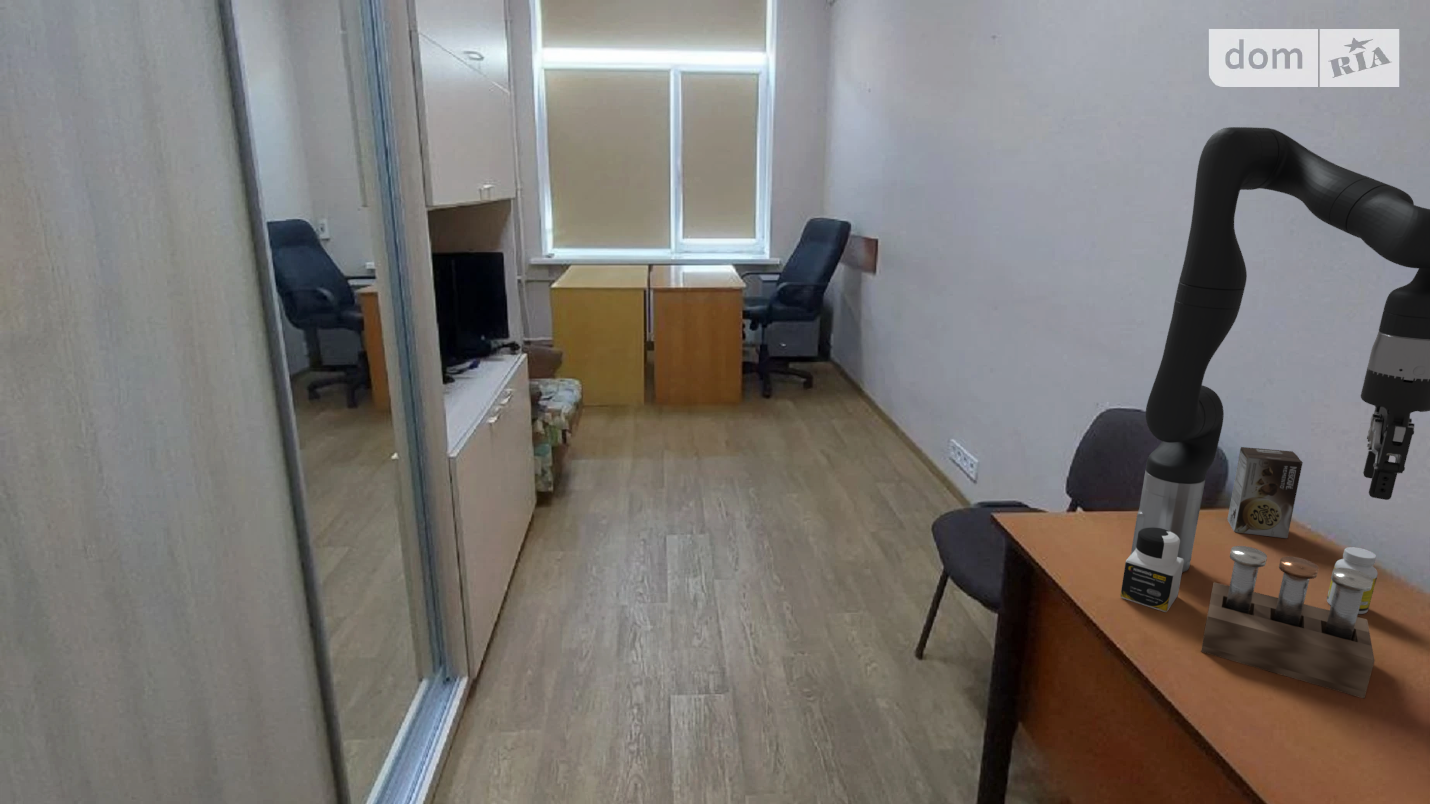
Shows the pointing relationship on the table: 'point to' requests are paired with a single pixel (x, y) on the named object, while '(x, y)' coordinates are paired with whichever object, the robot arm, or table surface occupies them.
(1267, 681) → the table surface
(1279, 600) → the copper and grey cylinder
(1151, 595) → the medicine bottle
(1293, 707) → the table surface
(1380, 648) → the table surface
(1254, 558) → the knob left
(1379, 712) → the table surface
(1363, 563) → the supplement bottle
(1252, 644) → the mount
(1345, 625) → the knob right
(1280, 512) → the coffee box
